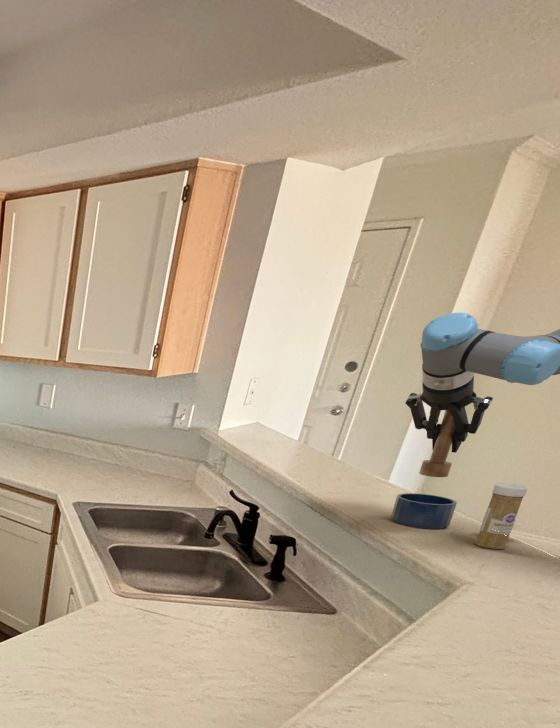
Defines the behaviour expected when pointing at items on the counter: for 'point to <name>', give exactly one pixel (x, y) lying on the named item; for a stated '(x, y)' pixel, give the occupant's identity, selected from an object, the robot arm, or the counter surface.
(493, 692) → the counter surface
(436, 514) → the bowl
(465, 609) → the counter surface
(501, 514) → the sprinkles bottle
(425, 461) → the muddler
